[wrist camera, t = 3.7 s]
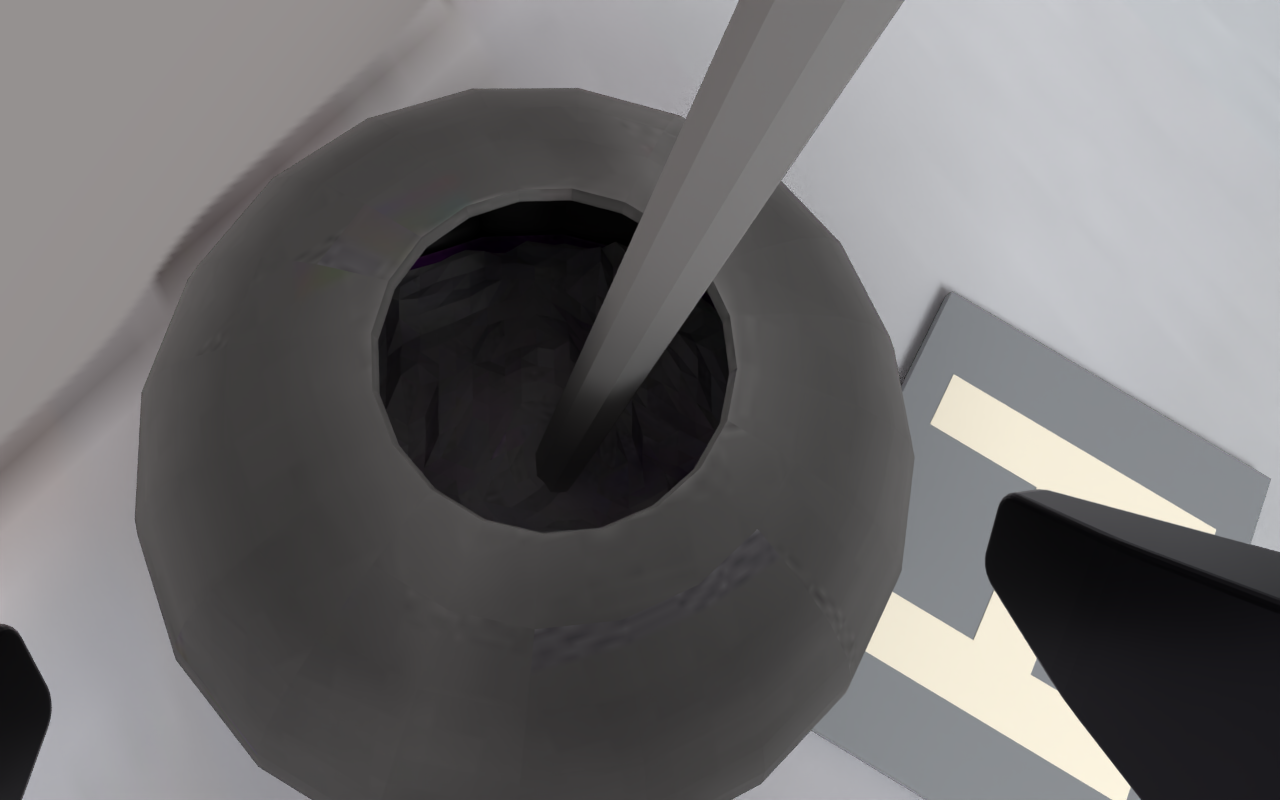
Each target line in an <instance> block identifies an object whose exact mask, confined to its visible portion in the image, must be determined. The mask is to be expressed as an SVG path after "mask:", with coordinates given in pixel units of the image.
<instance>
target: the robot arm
mask: <svg viewBox="0 0 1280 800" xmlns="http://www.w3.org/2000/svg"><path fill="white" fill-rule="evenodd" d="M985 569H986V574H987V577H988V579H989V582H990V584H991V586H992V587H993V589H994V590H995V592H996V594H997V595H998V597H999V599H1000V600H1001V602H1002V603H1003V605H1004V607H1005V608H1006V610H1007V611H1008V613H1009V615H1010V616H1011V618H1012V619H1013V621H1014V623H1015V624H1016V626H1017V627H1018V629H1019V631H1020V632H1021V634H1022V635H1023V637H1024V639H1025V640H1026V642H1027V643H1028V645H1029V647H1030V648H1031V650H1032V651H1033V653H1034V655H1035V656H1036V658H1037V659H1038V661H1039V663H1040V664H1041V666H1042V667H1043V669H1044V671H1045V672H1046V674H1047V675H1048V677H1049V678H1050V680H1051V681H1052V683H1053V684H1054V686H1055V687H1056V689H1057V690H1058V692H1059V693H1060V695H1061V697H1062V698H1063V699H1064V701H1065V702H1066V703H1067V705H1068V706H1069V707H1070V709H1071V710H1072V712H1073V713H1074V714H1075V716H1076V717H1077V718H1078V720H1079V721H1080V722H1081V724H1082V725H1083V726H1084V727H1085V729H1086V730H1087V731H1088V733H1089V734H1090V735H1091V736H1092V738H1093V739H1094V740H1095V742H1096V743H1097V744H1098V745H1099V747H1100V748H1101V749H1102V751H1103V752H1104V753H1105V754H1106V756H1107V757H1108V758H1109V760H1110V761H1111V762H1112V763H1113V765H1114V766H1115V767H1116V769H1117V770H1118V771H1119V773H1120V774H1121V775H1122V776H1123V778H1124V779H1125V780H1126V782H1127V783H1128V784H1129V785H1130V787H1131V788H1132V789H1133V791H1134V792H1135V793H1136V794H1137V796H1138V797H1139V798H1140V800H1280V552H1277V551H1274V550H1270V549H1266V548H1262V547H1259V546H1255V545H1251V544H1247V543H1244V542H1240V541H1236V540H1233V539H1229V538H1225V537H1221V536H1218V535H1214V534H1210V533H1206V532H1203V531H1199V530H1195V529H1192V528H1188V527H1184V526H1180V525H1177V524H1173V523H1169V522H1165V521H1162V520H1158V519H1154V518H1151V517H1147V516H1143V515H1139V514H1136V513H1132V512H1128V511H1124V510H1121V509H1117V508H1113V507H1109V506H1106V505H1102V504H1098V503H1095V502H1091V501H1087V500H1083V499H1080V498H1076V497H1072V496H1068V495H1065V494H1061V493H1057V492H1054V491H1050V490H1043V489H1036V490H1028V491H1020V492H1012V493H1009V494H1007V495H1006V496H1004V497H1003V498H1002V500H1001V501H1000V503H999V505H998V509H997V512H996V516H995V520H994V523H993V527H992V531H991V534H990V538H989V542H988V545H987V549H986V553H985ZM51 711H52V707H51V696H50V692H49V689H48V687H47V685H46V683H45V681H44V679H43V677H42V675H41V673H40V671H39V670H38V668H37V666H36V664H35V662H34V660H33V658H32V656H31V654H30V653H29V651H28V649H27V647H26V645H25V643H24V641H23V639H22V637H21V636H20V634H19V633H18V631H16V630H15V629H14V628H13V627H11V626H8V625H5V624H0V800H22V798H23V795H24V793H25V790H26V787H27V784H28V782H29V779H30V776H31V773H32V771H33V768H34V765H35V762H36V760H37V757H38V754H39V751H40V748H41V746H42V743H43V740H44V737H45V735H46V732H47V729H48V726H49V722H50V718H51Z"/></svg>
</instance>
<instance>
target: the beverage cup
mask: <svg viewBox="0 0 1280 800" xmlns="http://www.w3.org/2000/svg"><path fill="white" fill-rule="evenodd" d="M903 2H904V0H739V2H738V4H737V6H736V9H735V11H734V13H733V15H732V17H731V20H730V22H729V24H728V26H727V29H726V31H725V33H724V35H723V37H722V40H721V42H720V44H719V46H718V49H717V51H716V53H715V55H714V57H713V60H712V62H711V64H710V66H709V69H708V71H707V73H706V75H705V77H704V80H703V82H702V84H701V86H700V89H699V91H698V93H697V95H696V97H695V100H694V102H693V104H692V106H691V109H690V111H689V113H688V115H687V117H686V119H684V118H683V117H681V116H679V115H675V114H672V113H668V112H664V111H660V110H657V109H653V108H649V107H646V106H642V105H638V104H635V103H631V102H627V101H624V100H620V99H616V98H612V97H609V96H605V95H601V94H598V93H594V92H590V91H587V90H583V89H579V88H543V89H470V90H466V91H463V92H459V93H456V94H452V95H449V96H445V97H442V98H438V99H435V100H431V101H428V102H424V103H421V104H417V105H414V106H410V107H407V108H403V109H400V110H396V111H393V112H389V113H385V114H382V115H378V116H375V117H371V118H368V119H366V120H365V121H363V122H361V123H360V124H358V125H357V126H355V127H353V128H352V129H350V130H349V131H347V132H345V133H344V134H342V135H341V136H339V137H338V138H336V139H334V140H333V141H331V142H330V143H328V144H326V145H325V146H323V147H322V148H320V149H318V150H317V151H315V152H314V153H312V154H311V155H309V156H307V157H306V158H304V159H303V160H301V161H299V162H298V163H296V164H295V165H293V166H292V167H290V168H288V169H287V170H285V171H284V172H282V173H280V174H279V175H277V176H276V177H274V178H273V179H272V180H271V181H270V182H269V183H268V185H267V186H266V187H265V188H264V189H263V190H262V192H261V193H260V194H259V195H258V196H257V197H256V199H255V200H254V201H253V202H252V203H251V204H250V206H249V207H248V208H247V209H246V210H245V211H244V213H243V214H242V215H241V216H240V217H239V218H238V220H237V221H236V222H235V223H234V224H233V225H232V227H231V228H230V229H229V230H228V231H227V232H226V234H225V235H224V236H223V237H222V238H221V239H220V241H219V242H218V243H217V244H216V245H215V246H214V248H213V249H212V250H211V251H210V252H209V253H208V255H207V256H206V257H205V258H204V259H203V260H202V262H201V263H200V264H199V265H198V266H197V268H196V269H195V270H194V272H193V273H192V275H191V276H190V277H189V279H188V281H187V283H186V286H185V288H184V290H183V293H182V295H181V298H180V300H179V303H178V305H177V307H176V310H175V312H174V315H173V317H172V320H171V322H170V325H169V327H168V329H167V332H166V334H165V337H164V339H163V342H162V344H161V346H160V349H159V351H158V354H157V356H156V359H155V361H154V364H153V366H152V368H151V371H150V373H149V376H148V378H147V381H146V383H145V385H144V388H143V390H142V395H141V414H140V432H139V451H138V470H137V489H136V508H135V523H136V529H137V534H138V538H139V541H140V544H141V547H142V551H143V554H144V557H145V560H146V564H147V567H148V570H149V574H150V577H151V580H152V583H153V587H154V590H155V593H156V596H157V600H158V603H159V606H160V609H161V613H162V616H163V619H164V622H165V626H166V629H167V632H168V635H169V639H170V642H171V645H172V648H173V652H174V655H175V658H176V660H177V662H178V663H179V664H180V666H181V667H182V668H183V670H184V671H185V672H186V673H187V675H188V676H189V677H190V679H191V680H192V681H193V682H194V684H195V685H196V686H197V688H198V689H199V690H200V692H201V693H202V694H203V695H204V697H205V698H206V699H207V701H208V702H209V703H210V705H211V706H212V707H213V708H214V710H215V711H216V712H217V714H218V715H219V716H220V717H221V719H222V720H223V721H224V723H225V724H226V725H227V727H228V728H229V729H230V730H231V732H232V733H233V734H234V736H235V737H236V738H237V740H238V741H239V742H240V743H241V745H242V746H243V747H244V749H245V750H246V751H247V752H248V754H249V755H250V756H251V758H252V759H253V760H254V762H255V763H256V764H257V765H258V767H260V768H261V769H263V770H265V771H266V772H268V773H270V774H271V775H273V776H274V777H276V778H278V779H279V780H281V781H282V782H284V783H286V784H287V785H289V786H291V787H292V788H294V789H295V790H297V791H299V792H300V793H302V794H304V795H305V796H307V797H308V798H310V799H312V800H732V799H734V798H735V797H737V796H739V795H741V794H743V793H745V792H747V791H749V790H750V789H752V788H754V787H756V786H758V785H760V784H761V783H762V782H763V781H764V780H765V779H766V778H767V777H768V776H769V775H770V774H771V773H772V772H773V770H774V769H775V768H776V767H777V766H778V765H779V764H780V763H781V762H782V761H783V760H784V759H785V758H786V757H787V755H788V754H789V753H790V752H791V751H792V750H793V749H794V748H795V747H796V746H797V745H798V744H799V743H800V742H801V740H802V739H803V738H804V737H805V736H806V735H807V734H808V733H809V732H810V731H811V730H812V729H813V728H814V727H815V725H816V724H817V723H818V722H819V721H820V720H821V719H822V718H823V717H824V716H825V715H826V714H827V713H828V712H829V710H830V709H831V708H832V707H833V706H834V705H835V704H836V703H837V702H838V701H839V700H840V699H841V698H842V697H843V695H844V694H845V693H846V692H847V690H848V688H849V686H850V683H851V681H852V679H853V677H854V675H855V672H856V670H857V668H858V666H859V664H860V662H861V659H862V657H863V655H864V653H865V651H866V648H867V646H868V644H869V642H870V640H871V638H872V635H873V633H874V631H875V629H876V627H877V624H878V622H879V620H880V618H881V616H882V613H883V611H884V609H885V607H886V605H887V603H888V600H889V598H890V596H891V594H892V592H893V589H894V587H895V585H896V583H897V580H898V578H899V576H900V573H901V571H902V563H903V554H904V546H905V537H906V528H907V520H908V511H909V502H910V494H911V485H912V476H913V468H914V459H915V456H914V451H913V446H912V440H911V435H910V430H909V425H908V420H907V414H906V409H905V404H904V399H903V393H902V388H901V383H900V378H899V373H898V367H897V362H896V357H895V352H894V348H893V345H892V342H891V339H890V336H889V334H888V332H887V331H886V329H885V327H884V325H883V323H882V321H881V319H880V317H879V315H878V313H877V311H876V309H875V308H874V306H873V304H872V302H871V300H870V298H869V296H868V294H867V292H866V290H865V288H864V287H863V285H862V283H861V281H860V279H859V277H858V275H857V273H856V271H855V269H854V267H853V266H852V264H851V262H850V260H849V258H848V256H847V254H846V252H845V250H844V248H843V246H842V245H841V243H840V242H839V241H838V240H837V239H836V238H835V237H834V236H833V235H832V233H831V232H830V231H829V230H828V229H827V228H826V227H825V226H824V225H823V224H822V223H821V222H820V221H819V220H818V219H817V218H816V217H815V216H814V215H813V214H812V213H811V212H810V211H809V210H808V208H807V207H806V206H805V205H804V204H803V203H802V202H801V201H800V200H799V199H798V198H797V197H796V196H795V195H794V194H793V193H792V192H791V191H790V190H789V189H788V188H787V187H786V186H785V184H784V183H783V182H782V181H781V180H782V179H783V177H784V176H785V174H786V173H787V171H788V170H789V168H790V167H791V165H792V164H793V163H794V161H795V160H796V158H797V157H798V155H799V154H800V152H801V151H802V149H803V148H804V146H805V145H806V144H807V142H808V141H809V139H810V138H811V136H812V135H813V133H814V132H815V130H816V129H817V127H818V126H819V125H820V123H821V122H822V120H823V119H824V117H825V116H826V114H827V113H828V111H829V110H830V108H831V107H832V106H833V104H834V103H835V101H836V100H837V98H838V97H839V95H840V94H841V92H842V91H843V89H844V88H845V87H846V85H847V84H848V82H849V81H850V79H851V78H852V76H853V75H854V73H855V72H856V70H857V69H858V68H859V66H860V65H861V63H862V62H863V60H864V59H865V57H866V56H867V54H868V53H869V51H870V50H871V49H872V47H873V46H874V44H875V43H876V41H877V40H878V38H879V37H880V35H881V34H882V32H883V31H884V30H885V28H886V27H887V25H888V24H889V22H890V21H891V19H892V18H893V16H894V15H895V13H896V12H897V11H898V9H899V8H900V6H901V5H902V3H903Z"/></svg>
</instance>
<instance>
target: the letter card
mask: <svg viewBox="0 0 1280 800" xmlns="http://www.w3.org/2000/svg"><path fill="white" fill-rule="evenodd" d="M901 388H902V393H903V399H904V404H905V409H906V414H907V420H908V425H909V430H910V435H911V440H912V446H913V451H914V456H915V459H914V468H913V476H912V485H911V494H910V502H909V511H908V520H907V528H906V537H905V546H904V554H903V563H902V571H901V573H900V576H899V578H898V580H897V583H896V585H895V587H894V589H893V592H892V594H891V596H890V598H889V600H888V603H887V605H886V607H885V609H884V611H883V613H882V616H881V618H880V620H879V622H878V624H877V627H876V629H875V631H874V633H873V635H872V638H871V640H870V642H869V644H868V646H867V648H866V651H865V653H864V655H863V657H862V659H861V662H860V664H859V666H858V668H857V670H856V672H855V675H854V677H853V679H852V681H851V683H850V686H849V688H848V690H847V692H846V693H845V694H844V695H843V697H842V698H841V699H840V700H839V701H838V702H837V703H836V704H835V705H834V706H833V707H832V708H831V709H830V710H829V712H828V713H827V714H826V715H825V716H824V717H823V718H822V719H821V720H820V721H819V722H818V723H817V724H816V725H815V727H814V728H813V729H812V730H811V731H813V732H815V733H816V734H818V735H820V736H821V737H823V738H824V739H826V740H828V741H829V742H831V743H833V744H834V745H836V746H838V747H839V748H841V749H843V750H844V751H846V752H848V753H849V754H851V755H853V756H854V757H856V758H858V759H859V760H861V761H862V762H864V763H866V764H867V765H869V766H871V767H872V768H874V769H876V770H877V771H879V772H881V773H882V774H884V775H886V776H887V777H889V778H891V779H892V780H894V781H896V782H897V783H899V784H900V785H902V786H904V787H905V788H907V789H909V790H910V791H912V792H914V793H915V794H917V795H919V796H920V797H922V798H924V799H925V800H1140V798H1139V797H1138V796H1137V794H1136V793H1135V792H1134V791H1133V789H1132V788H1131V787H1130V785H1129V784H1128V783H1127V782H1126V780H1125V779H1124V778H1123V776H1122V775H1121V774H1120V773H1119V771H1118V770H1117V769H1116V767H1115V766H1114V765H1113V763H1112V762H1111V761H1110V760H1109V758H1108V757H1107V756H1106V754H1105V753H1104V752H1103V751H1102V749H1101V748H1100V747H1099V745H1098V744H1097V743H1096V742H1095V740H1094V739H1093V738H1092V736H1091V735H1090V734H1089V733H1088V731H1087V730H1086V729H1085V727H1084V726H1083V725H1082V724H1081V722H1080V721H1079V720H1078V718H1077V717H1076V716H1075V714H1074V713H1073V712H1072V710H1071V709H1070V707H1069V706H1068V705H1067V703H1066V702H1065V701H1064V699H1063V698H1062V697H1061V695H1060V693H1059V692H1058V690H1057V689H1056V687H1055V686H1054V684H1053V683H1052V681H1051V680H1050V678H1049V677H1048V675H1047V674H1046V672H1045V671H1044V669H1043V667H1042V666H1041V664H1040V663H1039V661H1038V659H1037V658H1036V656H1035V655H1034V653H1033V651H1032V650H1031V648H1030V647H1029V645H1028V643H1027V642H1026V640H1025V639H1024V637H1023V635H1022V634H1021V632H1020V631H1019V629H1018V627H1017V626H1016V624H1015V623H1014V621H1013V619H1012V618H1011V616H1010V615H1009V613H1008V611H1007V610H1006V608H1005V607H1004V605H1003V603H1002V602H1001V600H1000V599H999V597H998V595H997V594H996V592H995V590H994V589H993V587H992V586H991V584H990V582H989V579H988V577H987V574H986V569H985V553H986V549H987V545H988V542H989V538H990V534H991V531H992V527H993V523H994V520H995V516H996V512H997V509H998V505H999V503H1000V501H1001V500H1002V498H1003V497H1004V496H1006V495H1007V494H1009V493H1012V492H1020V491H1028V490H1036V489H1043V490H1050V491H1054V492H1057V493H1061V494H1065V495H1068V496H1072V497H1076V498H1080V499H1083V500H1087V501H1091V502H1095V503H1098V504H1102V505H1106V506H1109V507H1113V508H1117V509H1121V510H1124V511H1128V512H1132V513H1136V514H1139V515H1143V516H1147V517H1151V518H1154V519H1158V520H1162V521H1165V522H1169V523H1173V524H1177V525H1180V526H1184V527H1188V528H1192V529H1195V530H1199V531H1203V532H1206V533H1210V534H1214V535H1218V536H1221V537H1225V538H1229V539H1233V540H1236V541H1240V542H1244V543H1247V544H1251V541H1252V538H1253V534H1254V531H1255V528H1256V525H1257V522H1258V519H1259V516H1260V512H1261V509H1262V506H1263V503H1264V500H1265V497H1266V493H1267V490H1268V487H1269V484H1270V481H1271V478H1269V477H1267V476H1265V475H1264V474H1262V473H1260V472H1259V471H1257V470H1255V469H1254V468H1252V467H1250V466H1248V465H1247V464H1245V463H1243V462H1242V461H1240V460H1238V459H1237V458H1235V457H1233V456H1231V455H1230V454H1228V453H1226V452H1225V451H1223V450H1221V449H1220V448H1218V447H1216V446H1215V445H1213V444H1211V443H1209V442H1208V441H1206V440H1204V439H1203V438H1201V437H1199V436H1198V435H1196V434H1194V433H1192V432H1191V431H1189V430H1187V429H1186V428H1184V427H1182V426H1181V425H1179V424H1177V423H1175V422H1174V421H1172V420H1170V419H1169V418H1167V417H1165V416H1164V415H1162V414H1160V413H1159V412H1157V411H1155V410H1153V409H1152V408H1150V407H1148V406H1147V405H1145V404H1143V403H1142V402H1140V401H1138V400H1136V399H1135V398H1133V397H1131V396H1130V395H1128V394H1126V393H1125V392H1123V391H1121V390H1119V389H1118V388H1116V387H1114V386H1113V385H1111V384H1109V383H1108V382H1106V381H1104V380H1103V379H1101V378H1099V377H1097V376H1096V375H1094V374H1092V373H1091V372H1089V371H1087V370H1086V369H1084V368H1082V367H1080V366H1079V365H1077V364H1075V363H1074V362H1072V361H1070V360H1069V359H1067V358H1065V357H1063V356H1062V355H1060V354H1058V353H1057V352H1055V351H1053V350H1052V349H1050V348H1048V347H1047V346H1045V345H1043V344H1041V343H1040V342H1038V341H1036V340H1035V339H1033V338H1031V337H1030V336H1028V335H1026V334H1024V333H1023V332H1021V331H1019V330H1018V329H1016V328H1014V327H1013V326H1011V325H1009V324H1007V323H1006V322H1004V321H1002V320H1001V319H999V318H997V317H996V316H994V315H992V314H991V313H989V312H987V311H985V310H984V309H982V308H980V307H979V306H977V305H975V304H974V303H972V302H970V301H968V300H967V299H965V298H963V297H962V296H960V295H958V294H957V293H955V292H953V291H952V292H951V293H949V294H948V295H947V296H946V297H945V299H944V301H943V303H942V305H941V307H940V309H939V311H938V313H937V315H936V317H935V319H934V321H933V323H932V325H931V327H930V329H929V331H928V333H927V335H926V337H925V339H924V341H923V343H922V345H921V347H920V349H919V351H918V353H917V355H916V357H915V359H914V361H913V363H912V365H911V367H910V369H909V371H908V373H907V375H906V377H905V379H904V381H903V383H902V385H901Z"/></svg>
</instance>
